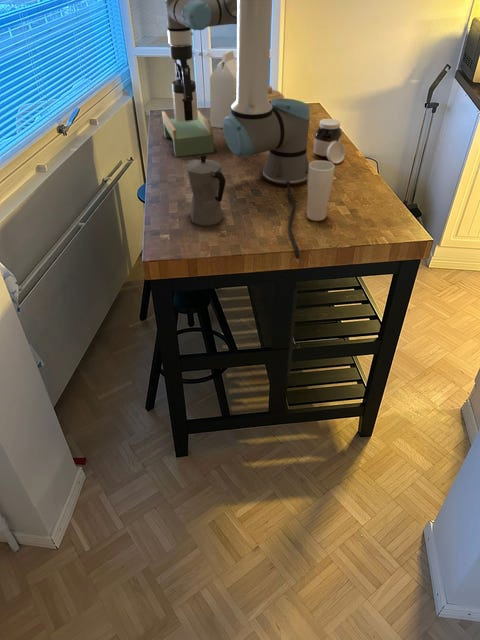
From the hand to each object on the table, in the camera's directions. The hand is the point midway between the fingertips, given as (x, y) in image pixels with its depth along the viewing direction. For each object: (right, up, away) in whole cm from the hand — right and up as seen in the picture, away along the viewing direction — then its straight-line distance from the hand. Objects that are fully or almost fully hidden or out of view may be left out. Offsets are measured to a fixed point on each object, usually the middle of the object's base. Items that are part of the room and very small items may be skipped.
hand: (186, 115), depth 170 cm
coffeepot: (+11, -46, -38) cm, 60 cm away
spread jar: (+51, -17, -5) cm, 54 cm away
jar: (0, -1, +1) cm, 1 cm away
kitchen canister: (+30, -2, +13) cm, 33 cm away
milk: (+15, +7, +24) cm, 29 cm away
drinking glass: (+41, -45, -37) cm, 71 cm away
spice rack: (0, -8, +6) cm, 10 cm away
